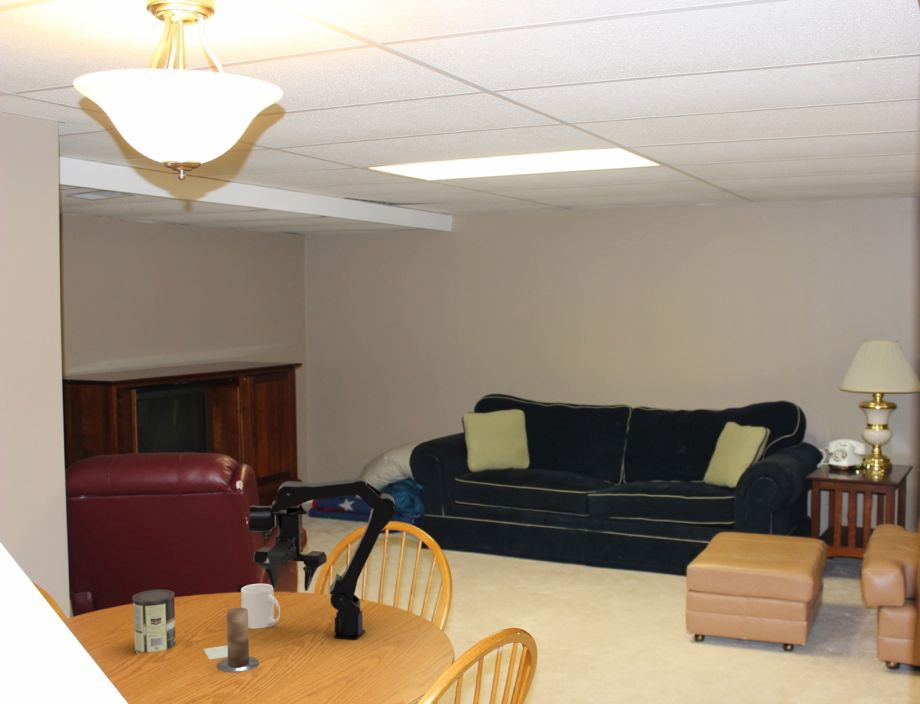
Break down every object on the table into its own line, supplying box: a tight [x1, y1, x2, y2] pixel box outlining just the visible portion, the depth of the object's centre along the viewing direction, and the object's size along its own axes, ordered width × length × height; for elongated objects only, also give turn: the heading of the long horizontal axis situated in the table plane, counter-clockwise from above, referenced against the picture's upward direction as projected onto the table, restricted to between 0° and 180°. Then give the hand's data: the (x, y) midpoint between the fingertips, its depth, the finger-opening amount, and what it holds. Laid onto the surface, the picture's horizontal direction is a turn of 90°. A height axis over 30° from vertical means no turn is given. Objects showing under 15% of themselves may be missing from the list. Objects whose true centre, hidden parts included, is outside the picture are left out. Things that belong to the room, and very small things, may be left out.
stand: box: [203, 644, 228, 661], centre depth 254 cm, size 8×8×1 cm
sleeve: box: [226, 607, 250, 667], centre depth 245 cm, size 5×5×13 cm
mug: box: [240, 583, 281, 630], centre depth 274 cm, size 9×12×11 cm
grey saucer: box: [216, 656, 260, 674], centre depth 245 cm, size 10×10×1 cm
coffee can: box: [132, 589, 177, 654], centre depth 258 cm, size 10×10×14 cm
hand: (290, 589), depth 266 cm, fingers open, 9 cm apart
